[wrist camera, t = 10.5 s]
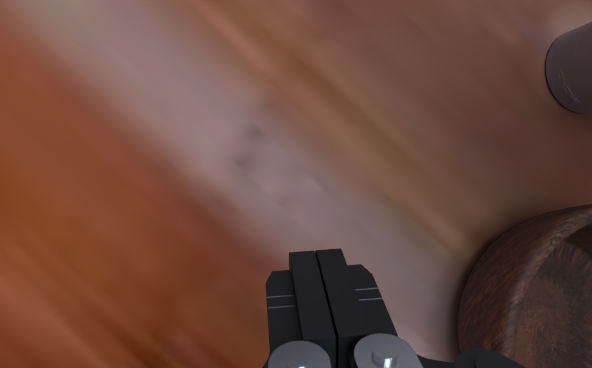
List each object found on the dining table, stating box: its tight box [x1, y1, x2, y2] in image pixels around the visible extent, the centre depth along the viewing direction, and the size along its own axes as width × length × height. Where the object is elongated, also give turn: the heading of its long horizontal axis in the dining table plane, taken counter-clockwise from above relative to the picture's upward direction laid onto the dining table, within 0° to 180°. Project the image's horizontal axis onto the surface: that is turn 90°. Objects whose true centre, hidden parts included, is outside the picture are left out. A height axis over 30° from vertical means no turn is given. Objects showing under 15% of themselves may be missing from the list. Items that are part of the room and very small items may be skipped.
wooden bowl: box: [458, 204, 592, 368], centre depth 45 cm, size 25×25×10 cm
